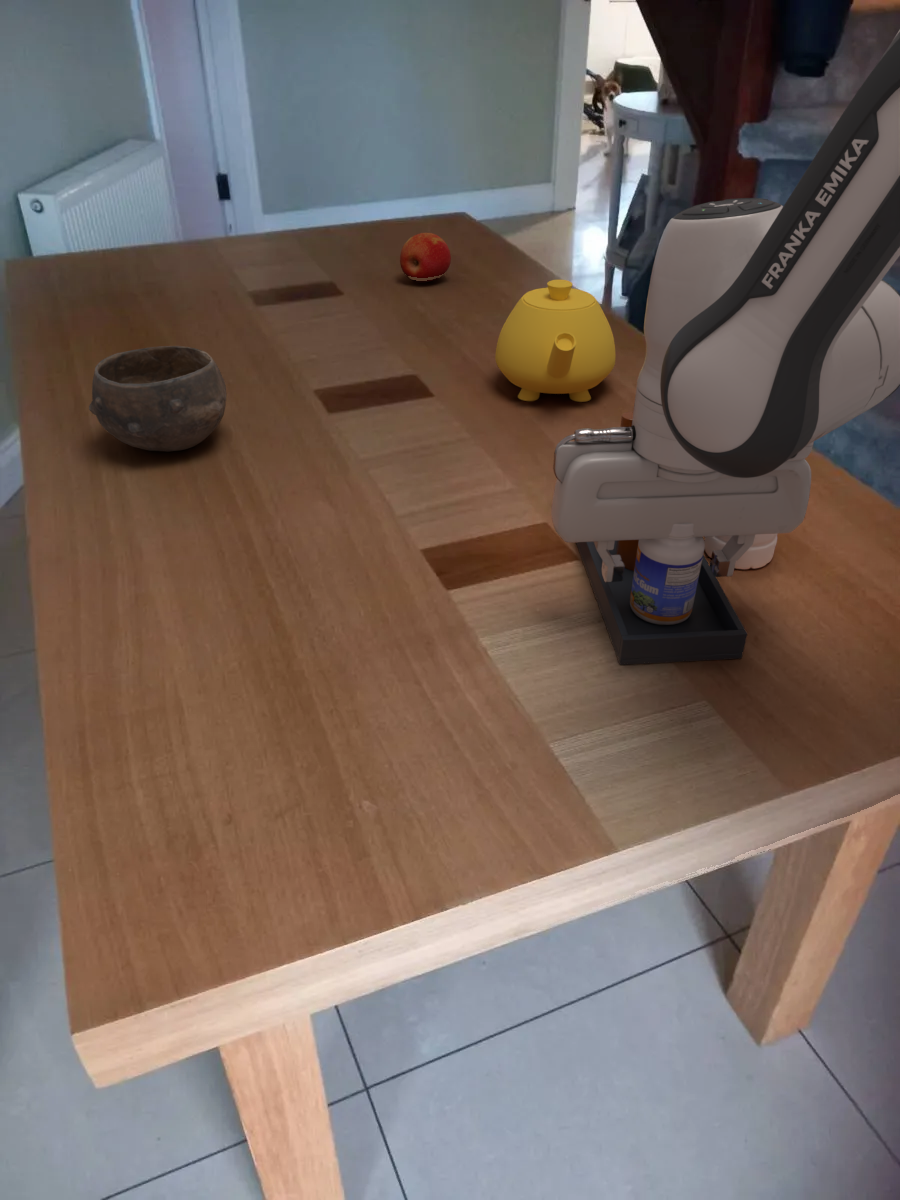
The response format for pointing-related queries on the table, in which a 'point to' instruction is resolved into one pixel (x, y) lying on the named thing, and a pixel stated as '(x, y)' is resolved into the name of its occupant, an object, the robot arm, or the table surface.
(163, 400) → the bowl
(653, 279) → the robot arm
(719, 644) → the tray
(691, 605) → the pill bottle
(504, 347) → the teapot
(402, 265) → the apple
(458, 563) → the table surface
